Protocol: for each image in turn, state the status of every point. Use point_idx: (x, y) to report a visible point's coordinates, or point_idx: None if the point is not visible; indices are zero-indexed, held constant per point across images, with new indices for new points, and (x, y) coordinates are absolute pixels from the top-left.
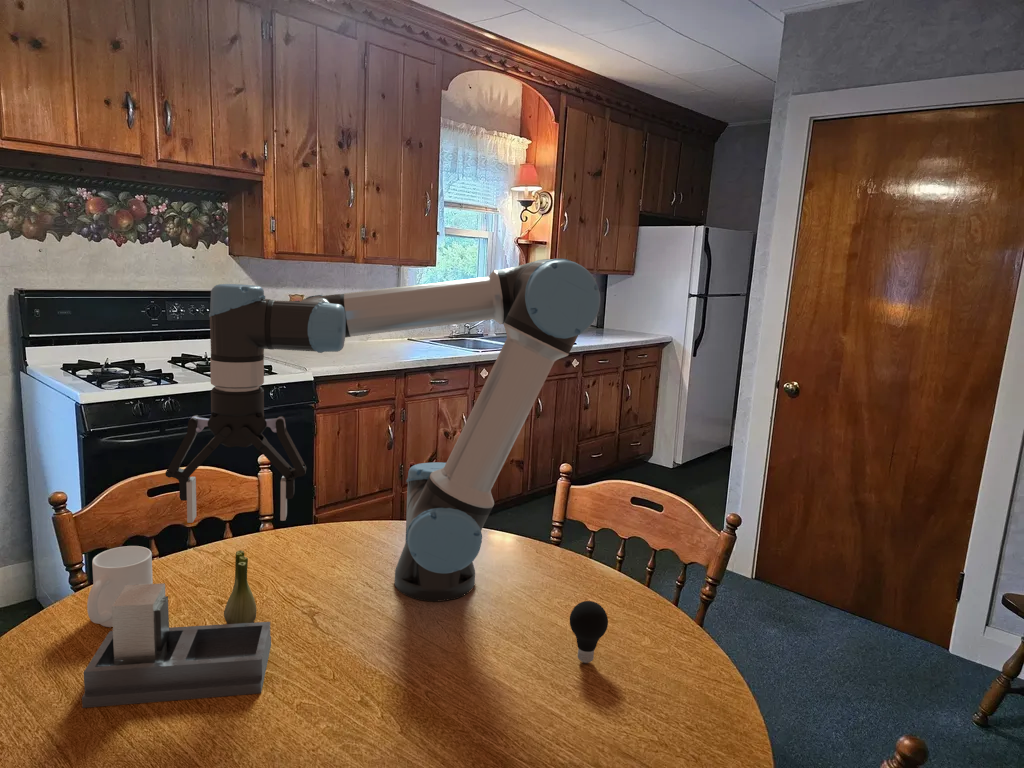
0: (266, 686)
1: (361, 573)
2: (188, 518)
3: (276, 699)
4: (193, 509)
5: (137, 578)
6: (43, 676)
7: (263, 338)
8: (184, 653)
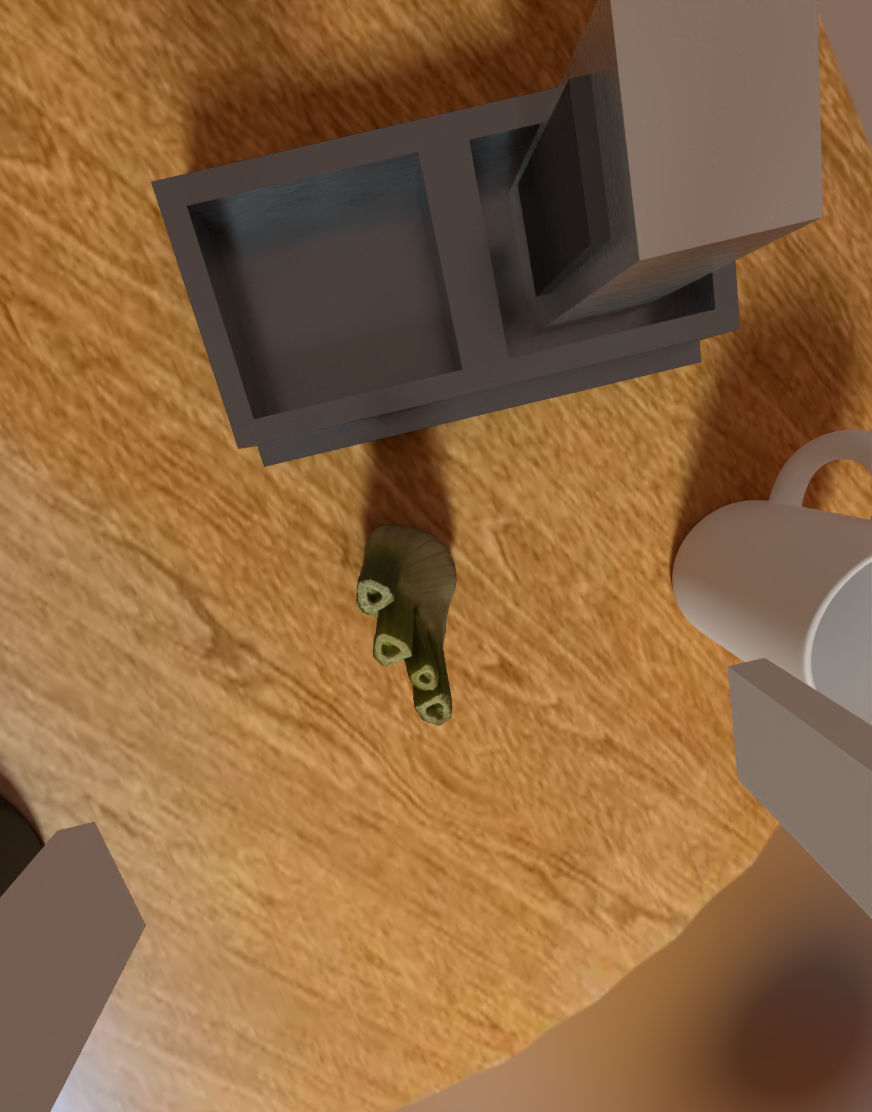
0: None
1: (169, 879)
2: (781, 674)
3: (130, 175)
4: (800, 757)
5: (783, 569)
6: (820, 247)
7: None
8: (440, 201)
